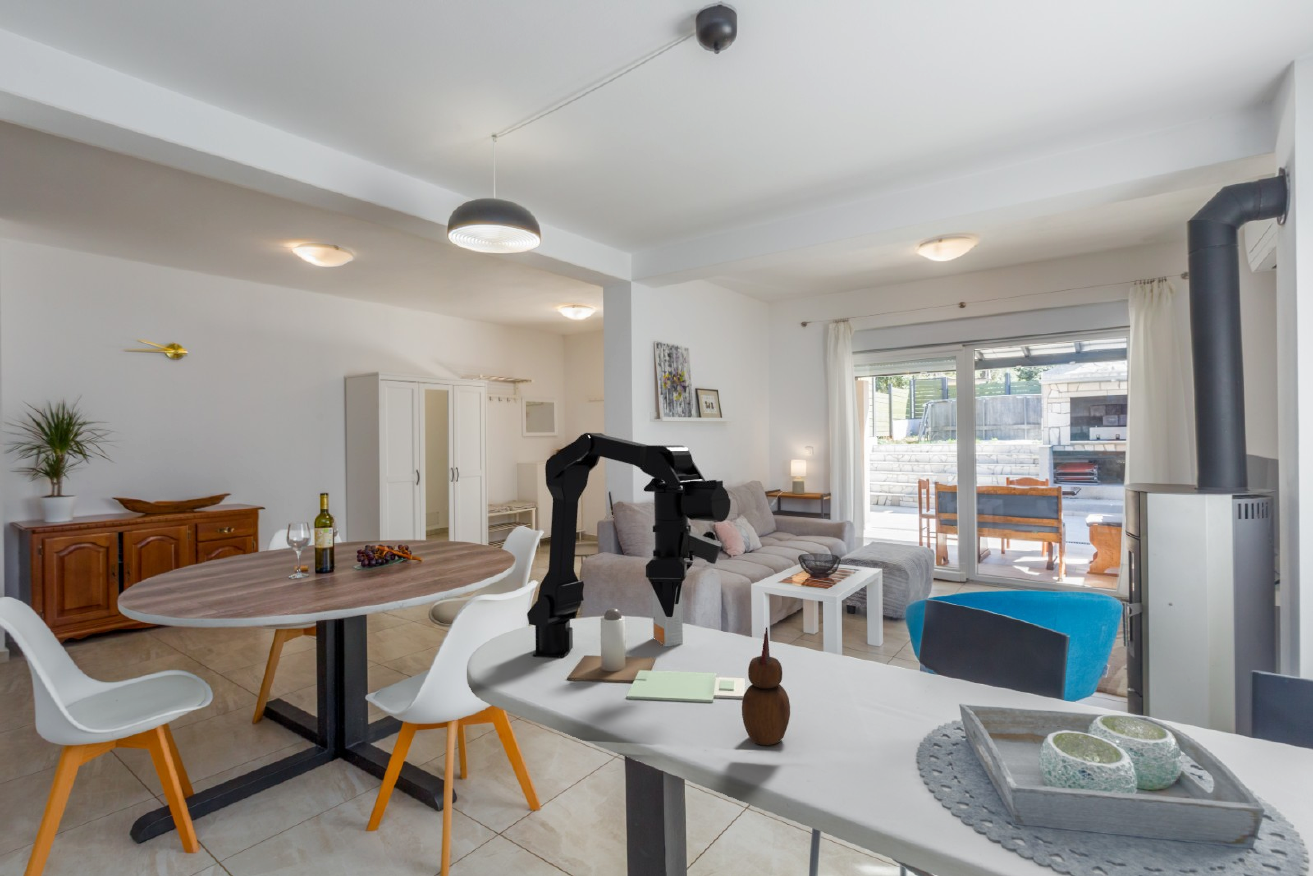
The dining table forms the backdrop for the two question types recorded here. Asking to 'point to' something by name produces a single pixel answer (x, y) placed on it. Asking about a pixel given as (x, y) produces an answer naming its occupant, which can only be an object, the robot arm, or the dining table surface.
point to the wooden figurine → (765, 700)
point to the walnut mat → (592, 671)
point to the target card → (729, 688)
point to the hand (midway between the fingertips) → (672, 610)
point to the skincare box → (667, 623)
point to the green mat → (673, 686)
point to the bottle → (613, 641)
